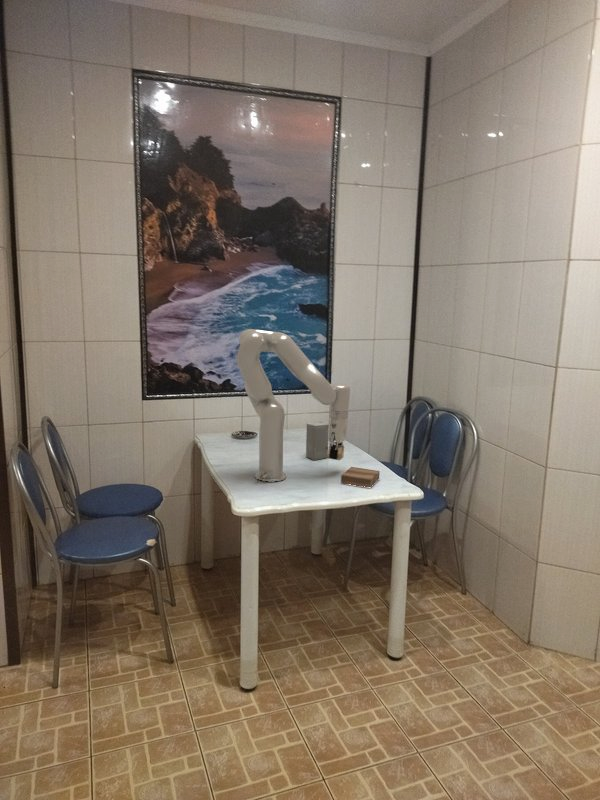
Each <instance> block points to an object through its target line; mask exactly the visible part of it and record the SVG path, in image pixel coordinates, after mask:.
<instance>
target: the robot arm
mask: <svg viewBox="0 0 600 800" xmlns="http://www.w3.org/2000/svg"><path fill="white" fill-rule="evenodd" d="M238 342H239V347H238V349H237V355H236V363H237V366H238V369H239V371H240V374H241V377H242V379H243V381H244V391H245V392H246V394H247V397H248V399H249V401H250V403H251V404H252V407H253V409H254V411H255V413H256V414H257V415H258V417H259V418H260V420H259V421H260V422H259V431H258V433H259V434H258V435H259V441H258V442H259V444H258V445H259V447H258V449H259V450H258V456H259V457H258V458H259V459H258V471H257V472H255V475H254V477H256V478H255V479H256V480H258V479H259V480H258V481H260V480H262V481H261V482H265V481H268V482H267V483H276V482H275V481H278V482H282V481H284V480H285V479H286V478H287V473H286V472H285V471H283V467H284V463H283V462H284V428H285V427H284V426H285V419H286V412H285V409H284V407H283V406H282V404H281V403H280V402H279V401H278V400H277V399H276V398H275V396H274V394H273V390H272V388H273V387H272V384H271V381H269V378H268V376H267V374H266V373H265V370H264V368H263V365H262V362H261V360H260V356H261V353H262V352H264V353H274V355H276V356H277V358H279V359H280V361H281V362H282V363H283V365H284V366H286V368H287V369H288V370H289V372H291V374H292V375H293V376H294V377H295V378H296V379H297V380H299V381H300V382H302V384H304V385H305V386H306V387H307V389H309V391H310V393H311V397H312V398H313V399H314V400H316V401H317V402H319V403H320V404H322V405H324V406H329V418H330V420H329V421H330V422H329V433H328V446H330V458H331V459H330V460H334V459H337V455H338V450H337V446H338V445H342V446H344V442H345V441H346V440H347V439H348V419H349V410H350V409H349V408H350V398H351V397H350V396H351V395H350V394H351V387H350V385H348V384H346V383H335V384H333V383H330V382H329V381H328V380H327V378H325V376H324V375H323V374H322V373H321V372H320V371H319V369H318V368H317V367H316V366H315V365H314V364H313V362H312V361H311V360H310V359H309V358H308V356H306V355H305V353H304V351H302V349H300V347H299V346H298V344H297V343H296V342H295V341H294V340H293V339H292V338H291V337H290V336H289V335H288V334H286V333H284V332H279V331H269V330H262V329H256V328H255V329H253V328H249V329H245V330H243V331H242V332H241V333H240V335H239V340H238ZM335 444H336V446H335ZM281 480H282V481H281Z"/></svg>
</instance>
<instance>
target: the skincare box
mask: <svg viewBox="0 0 600 800" xmlns="http://www.w3.org/2000/svg"><path fill="white" fill-rule="evenodd" d="M329 428H330V423H325V422H322V421H319V422H307V423H306V438H305V440H306V444H305V445H306V447H305V457H306V458H307V459H308V458H309V459H311V460H313V461H318V460H323V459H329V458H328V450H329Z"/></svg>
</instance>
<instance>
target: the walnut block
mask: <svg viewBox="0 0 600 800" xmlns="http://www.w3.org/2000/svg"><path fill="white" fill-rule="evenodd" d="M378 479H379V480H380V470H374V469H368V468H362V467H355V466H350V467H349V468H348V469H347V470H345V472H343V473H342V474H341V477H340V484H341V483H343V484H342V485H345V484H351V485H356V486H355V487H357V486H363V487H364V486H365V487H371V486H372V485H373V484H374V483H375V482H376V481H377V480H378ZM379 480H378V481H379ZM378 481H377V482H378ZM377 482H376V483H377ZM376 483H375V484H376ZM375 484H374V485H375ZM351 485H350V486H351ZM374 485H373V486H374ZM373 486H372V487H373ZM363 487H362V488H363ZM372 487H371V488H372Z"/></svg>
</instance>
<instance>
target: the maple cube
mask: <svg viewBox="0 0 600 800" xmlns="http://www.w3.org/2000/svg"><path fill="white" fill-rule="evenodd" d="M334 444H335V443H334ZM335 446H336V444H335ZM337 450H338V455H337V459H333V460H335V461H340V460H342V459H343V458H344V454H345V445H343V446H342V445H338V446H337ZM327 459H330V460H332V459H331V458H330V445H328V458H327Z"/></svg>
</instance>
